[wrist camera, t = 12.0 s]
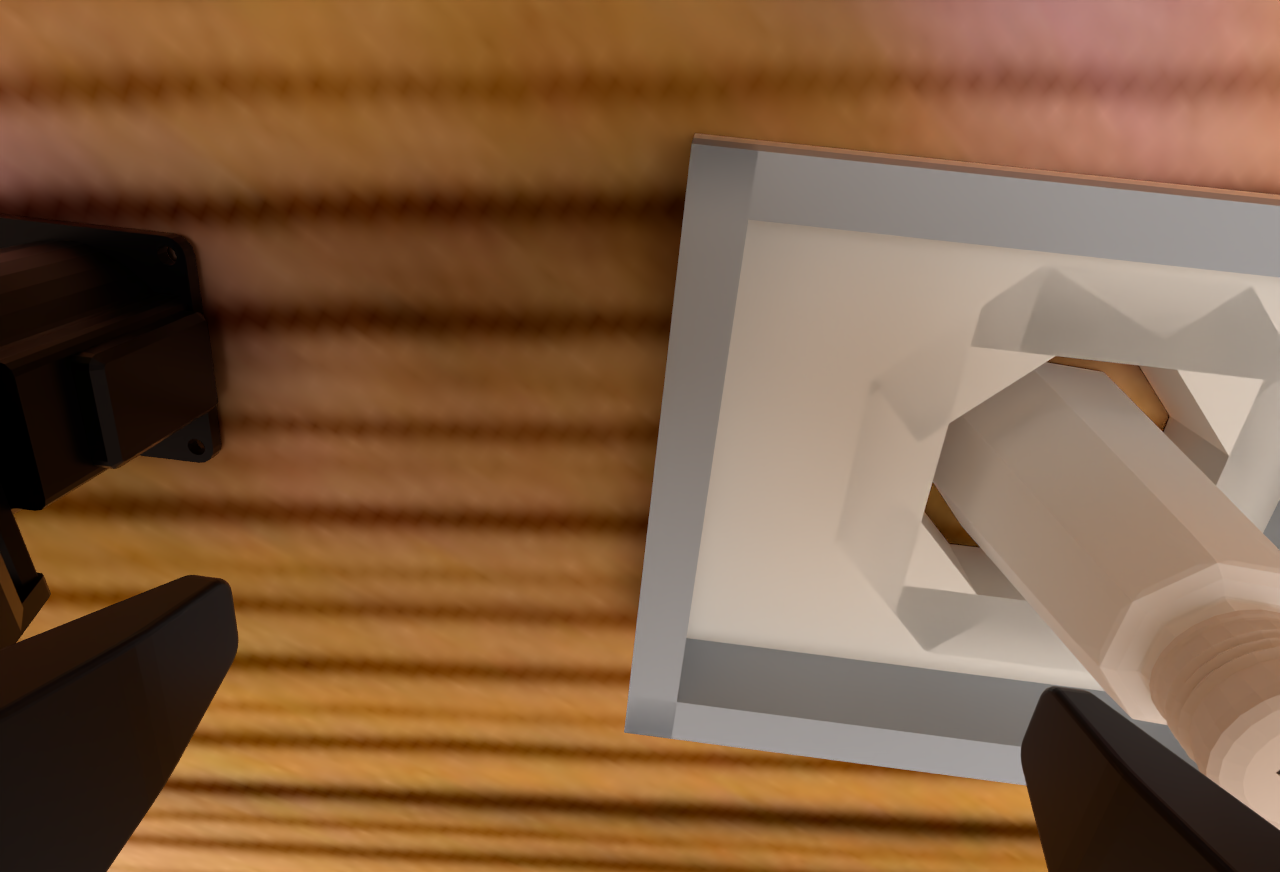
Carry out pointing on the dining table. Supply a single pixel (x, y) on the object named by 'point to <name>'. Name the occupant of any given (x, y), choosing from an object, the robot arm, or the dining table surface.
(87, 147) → the dining table surface
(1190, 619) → the pepper shaker
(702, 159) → the bore box
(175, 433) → the robot arm
